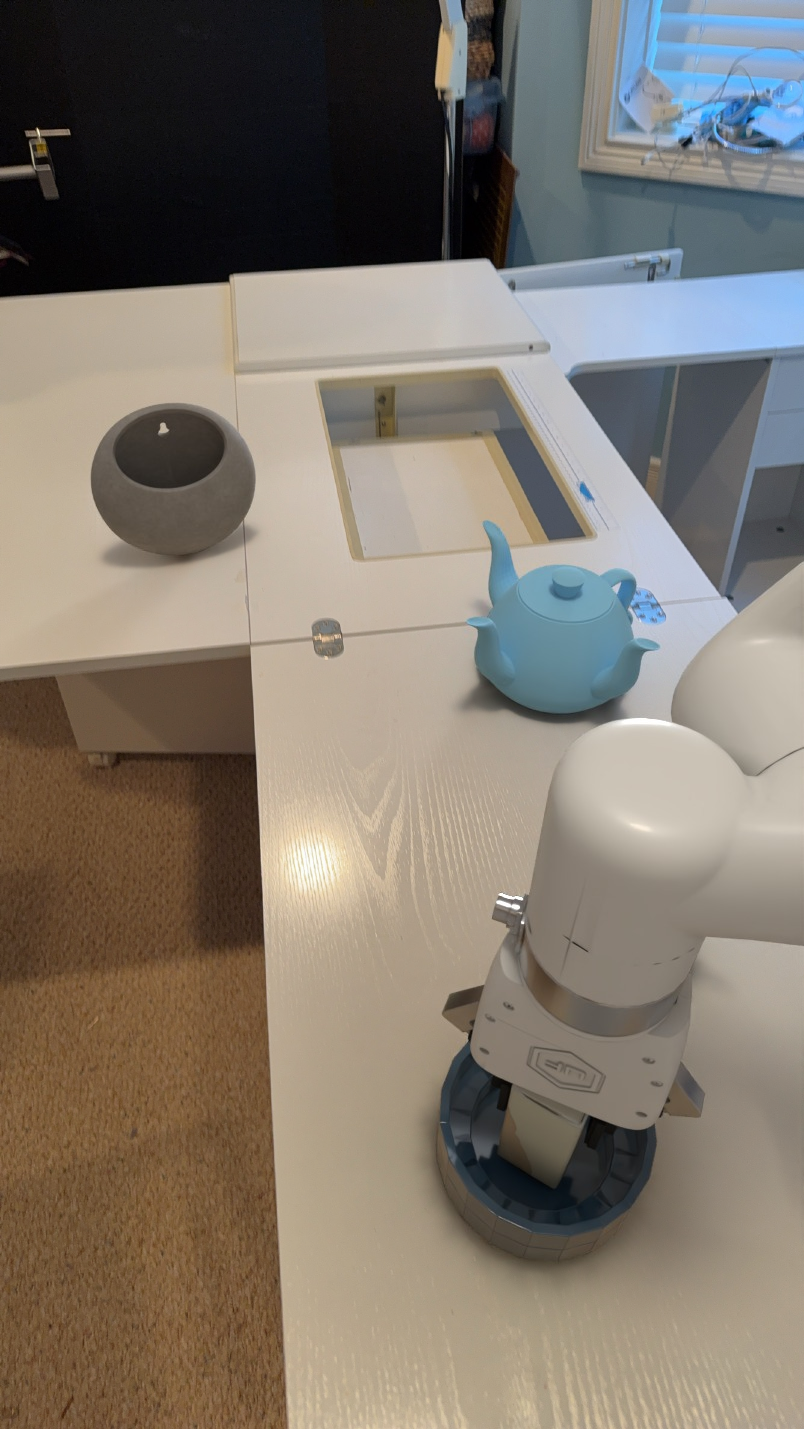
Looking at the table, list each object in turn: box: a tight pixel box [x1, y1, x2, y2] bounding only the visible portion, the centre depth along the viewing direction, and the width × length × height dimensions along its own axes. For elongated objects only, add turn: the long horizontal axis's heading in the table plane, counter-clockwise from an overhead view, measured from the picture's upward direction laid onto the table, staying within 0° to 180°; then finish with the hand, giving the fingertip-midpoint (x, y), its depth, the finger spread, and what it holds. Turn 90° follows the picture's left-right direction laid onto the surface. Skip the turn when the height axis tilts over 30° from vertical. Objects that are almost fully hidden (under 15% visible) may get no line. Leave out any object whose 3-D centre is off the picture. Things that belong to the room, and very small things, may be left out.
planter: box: [90, 402, 257, 556], centre depth 100 cm, size 18×7×19 cm, turn 110°
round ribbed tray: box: [436, 1040, 658, 1263], centre depth 56 cm, size 13×13×6 cm
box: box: [497, 1084, 589, 1189], centre depth 53 cm, size 5×4×11 cm
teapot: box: [465, 519, 661, 715], centre depth 88 cm, size 17×19×12 cm
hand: (552, 1104), depth 53 cm, fingers closed on box, 4 cm apart
